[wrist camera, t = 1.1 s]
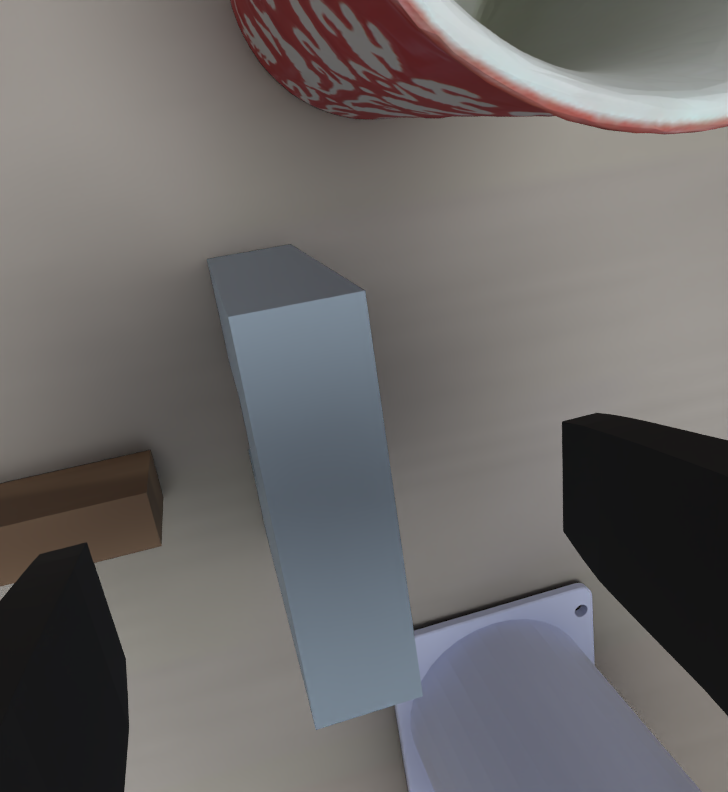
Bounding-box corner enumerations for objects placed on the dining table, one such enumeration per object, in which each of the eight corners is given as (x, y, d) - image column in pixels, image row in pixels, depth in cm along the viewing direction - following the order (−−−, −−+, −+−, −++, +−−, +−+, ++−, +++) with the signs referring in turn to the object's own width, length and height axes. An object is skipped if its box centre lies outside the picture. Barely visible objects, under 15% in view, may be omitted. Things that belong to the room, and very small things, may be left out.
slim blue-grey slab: (338, 518, 23) (423, 696, 15) (266, 536, 23) (315, 729, 15) (290, 243, 20) (365, 290, 12) (206, 258, 20) (228, 317, 12)
